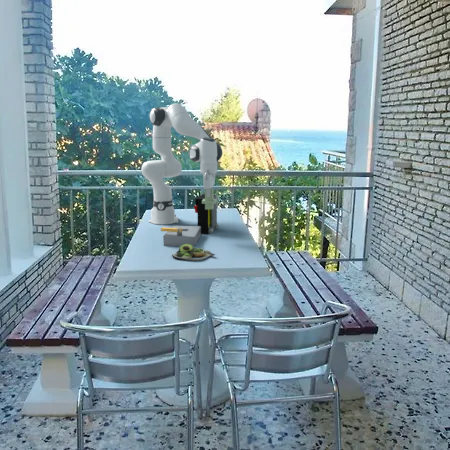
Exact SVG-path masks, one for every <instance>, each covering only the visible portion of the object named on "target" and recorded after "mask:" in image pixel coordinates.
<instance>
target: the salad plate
mask: <svg viewBox="0 0 450 450" xmlns="http://www.w3.org/2000/svg"><path fill="white" fill-rule="evenodd" d="M215 255H216V254H215V253H212V252H211V251H210V250H209V249H204V248H201V247H199V248H197V247H195V246H192V245H191V244H183V245H181V246H179V247H178V250H177V251H175V252H174V253H172V255H171V257H172V258H173V259H175V260H179V261H188V262H189V261H191V262H192V261H194V262H197V261H198V262H199V261H200V262H201V261H203V260H206V259H208V258H210V257H211V256H212V257H213V256H215Z"/></svg>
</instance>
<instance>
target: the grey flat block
mask: <svg viewBox="0 0 450 450" xmlns="http://www.w3.org/2000/svg"><path fill="white" fill-rule="evenodd" d="M170 228H182V229H183V231H182V235H181V236H178V235H177V232H166V231H165V233H164V234H163V236H162V238H163V240H162V241H163V246H174V247H178V246H179V247H180V246H181V245H183V244H191V245H192V246H193V247H195V246H196V244H197V243H198V241H199V240H200V238H201V235H202V234H201V226H198V225H171V226H170Z"/></svg>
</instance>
